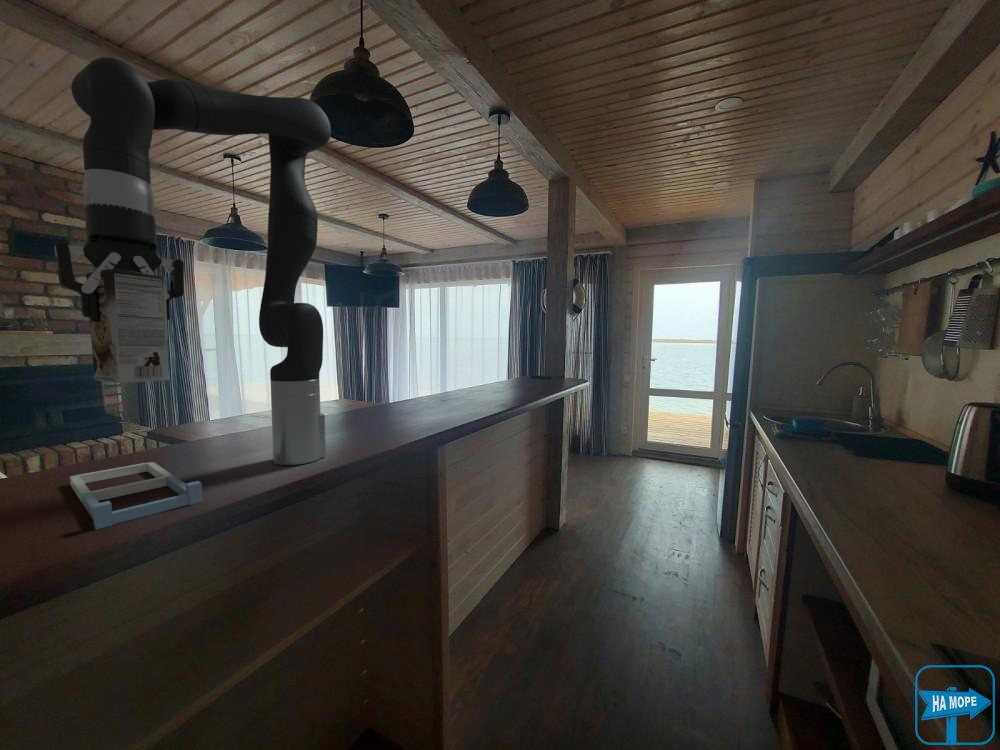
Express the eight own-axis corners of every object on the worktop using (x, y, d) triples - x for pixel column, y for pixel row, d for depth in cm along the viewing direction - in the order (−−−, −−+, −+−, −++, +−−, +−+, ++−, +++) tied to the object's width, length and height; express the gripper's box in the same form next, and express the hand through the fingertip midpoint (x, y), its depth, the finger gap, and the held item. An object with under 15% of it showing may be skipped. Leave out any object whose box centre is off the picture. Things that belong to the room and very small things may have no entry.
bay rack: (154, 468, 77) (154, 453, 76) (202, 501, 60) (201, 482, 60) (67, 485, 67) (66, 468, 67) (95, 529, 51) (94, 507, 51)
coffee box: (91, 380, 59) (83, 272, 58) (146, 378, 64) (140, 279, 63) (116, 383, 54) (108, 266, 53) (172, 380, 60) (166, 274, 59)
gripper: (175, 227, 65) (180, 325, 67) (44, 201, 54) (54, 321, 55) (189, 218, 61) (194, 324, 62) (49, 188, 50) (59, 319, 51)
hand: (128, 322), depth 59 cm, fingers closed on coffee box, 7 cm apart
